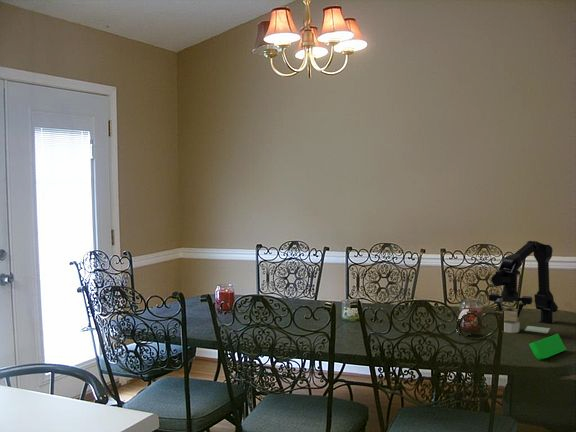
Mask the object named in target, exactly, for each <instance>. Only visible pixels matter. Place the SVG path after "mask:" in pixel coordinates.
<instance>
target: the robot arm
mask: <svg viewBox="0 0 576 432" xmlns="http://www.w3.org/2000/svg"><path fill="white" fill-rule="evenodd" d="M553 251H554V249H553V247H552V246H551V244H544V243H541V242H539V241H536V240H528V241H526V243H525V245H523V246H522V247H521V248H519V249H518V250H517V251H516V252H514V253H513V254H509V255H506V256H504V257H503V258H502V260H501V262H500V265H499V266H498V269H497V271H495V274H493V275H492V277H491V283H492V284H493V286H495V287H501V286H503V290H502V294H501V295H500V293H495V292H491V293H490V294H489V295H488V301H490V302H493V303H495V304H496V305H497V307H498V309H499V311H500V310H503V309H504V307H503V303H509V304H511V303H512V304H513V303H514V302H519V304H518V309H517V310H518V318H519V319H520V316H521V313H522V311H523V309H524V307H525V306H526V305H532V303H533V297H532V296H528V295H522V296H521V297H519V291H518V275H520V273H521V272H520V271H519V268H521V267H522V265H523V264H522V262H523V261H525V259H526V258H528V257H529V256H530V255H531V254H532V253H533V256H534V257H533V258H534V259H535V260H536V262H537V277H538V279H537V280H538V281H537V282H538V290H537V293H535V294H534V295H533V296H534V304H535V305H534V306H535V309H536V310H540V316H539V317H540V318H539V321H538V323H541V324H550V325H553V324H554V323H555V320H553V319H554V313H557V312H558V310H559V309H558V305H557V303H556V302H555V299H554V294H553V293H552V292H551V290H550V269H549V268H550V265H549V264H550V260H551V259H552V257H553Z"/></svg>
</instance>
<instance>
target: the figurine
mask: <svg viewBox="0 0 576 432" xmlns="http://www.w3.org/2000/svg"><path fill="white" fill-rule="evenodd" d="M468 311H469V308H465V309H463V310H462V311H461V312H460V313H459V315H458V318H457V320H458V319H461V318H462V316H463V315H464V314H465V313H467V312H468ZM457 332H458V331H457V330H456V333H457Z"/></svg>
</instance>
